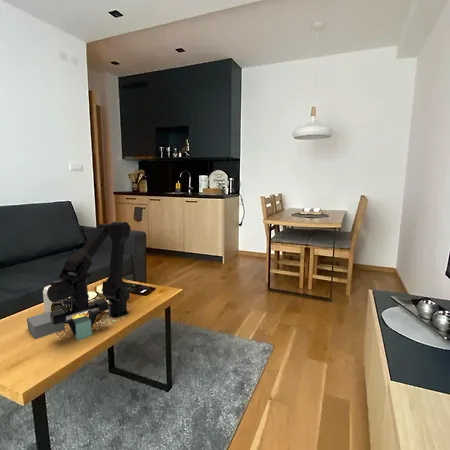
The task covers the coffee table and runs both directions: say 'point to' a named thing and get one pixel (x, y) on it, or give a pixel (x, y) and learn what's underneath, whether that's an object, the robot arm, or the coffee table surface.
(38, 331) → the charcoal box
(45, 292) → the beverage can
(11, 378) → the coffee table surface
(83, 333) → the teal block
